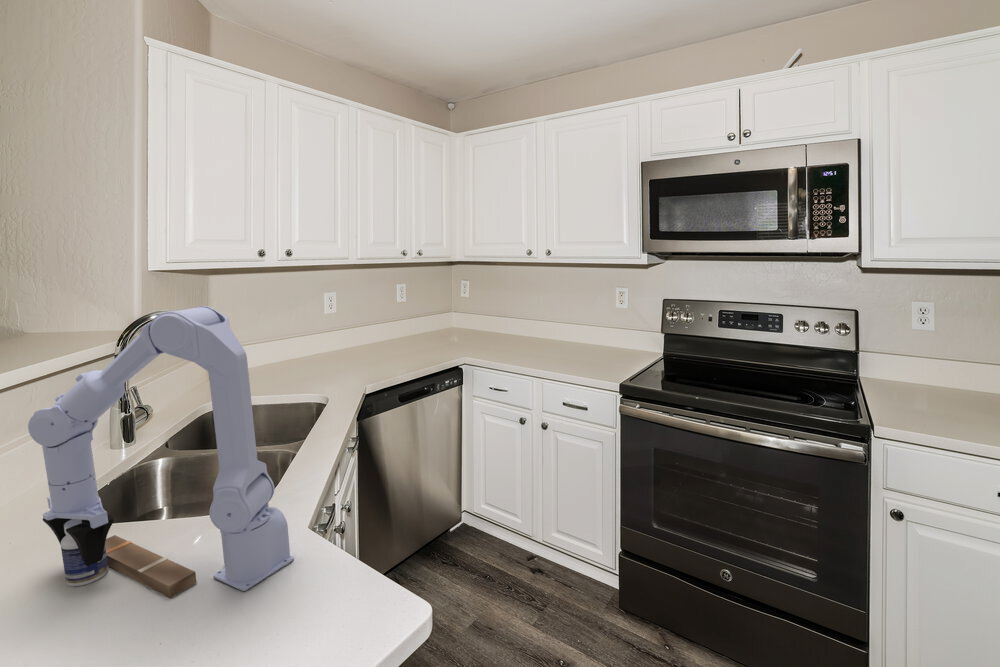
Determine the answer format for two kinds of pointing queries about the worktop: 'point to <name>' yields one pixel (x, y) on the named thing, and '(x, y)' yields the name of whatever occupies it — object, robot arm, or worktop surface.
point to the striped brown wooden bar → (148, 567)
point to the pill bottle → (79, 561)
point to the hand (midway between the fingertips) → (83, 557)
